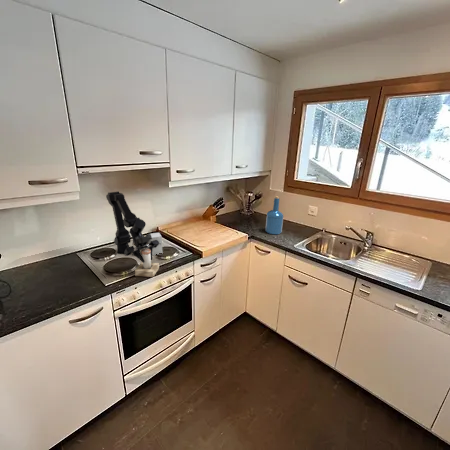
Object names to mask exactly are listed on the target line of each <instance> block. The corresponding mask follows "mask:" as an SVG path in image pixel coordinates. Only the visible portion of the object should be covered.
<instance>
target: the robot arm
mask: <svg viewBox="0 0 450 450" xmlns="http://www.w3.org/2000/svg"><path fill="white" fill-rule="evenodd" d="M105 195H106V200H107V201H108V205H110V206H111V207H112V211H113V218H114V222H115V225H116V231H115V237H114V239H113V242H114V244H115V245H116V250H117V251H116V254H119V255H120V254H121V255H123V254H124V255H125V257H127V256H130V255H132V256H134V257H136V258H137V259H138V260H139V261H140V262H141V263H142V262H143V263H144V259H143V257H142V252H141V251H142V250H143V249H150V250H151V253H150V255H151V261H152V260H153V255H152V249H153V248H156V247H157V246H158V245H159V241H158V240H153V241H151V242H150V244H148V242H149V240H150V239H152V237H151V235H150V234H151V233H148V234H146V235H144V234H143V233H142V232H143V231H144V229H145V227H146V225H147V224H146V221H145V220H143V219H142V218H140V217H137V215H136V213H133V212H132V210H131V209H130V207H129V205H128V203H127V201H126V199H125V194H124V193H122V192H119V191H110V192H109V191H108V192H107V194H105ZM126 228H130V229H129V230H128V229H126ZM131 239H132V243H134V245H135V247H134V246H133V245H132V246H130V244H129V243H131Z"/></svg>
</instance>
